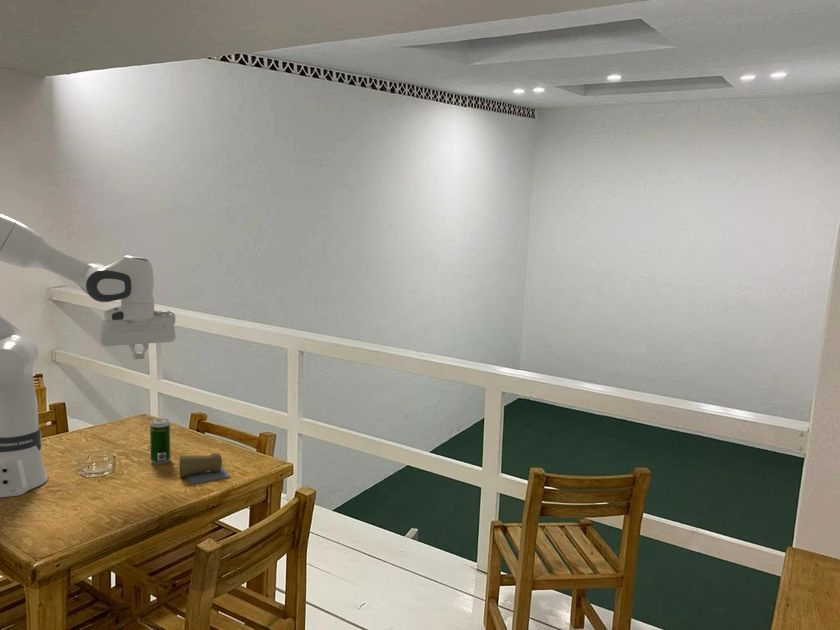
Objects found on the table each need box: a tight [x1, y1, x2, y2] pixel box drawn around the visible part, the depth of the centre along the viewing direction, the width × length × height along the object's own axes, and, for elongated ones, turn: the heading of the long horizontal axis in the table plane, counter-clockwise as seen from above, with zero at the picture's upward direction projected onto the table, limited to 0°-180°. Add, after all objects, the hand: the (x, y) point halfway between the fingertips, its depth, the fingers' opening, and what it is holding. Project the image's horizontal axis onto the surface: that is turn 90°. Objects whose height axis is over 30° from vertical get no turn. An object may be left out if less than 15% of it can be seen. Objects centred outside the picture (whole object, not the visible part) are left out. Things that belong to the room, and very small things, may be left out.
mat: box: [185, 466, 231, 485], centre depth 186 cm, size 10×10×1 cm
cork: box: [178, 452, 223, 478], centre depth 186 cm, size 6×6×11 cm
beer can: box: [149, 418, 171, 465], centre depth 194 cm, size 5×5×12 cm
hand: (138, 358), depth 195 cm, fingers closed
